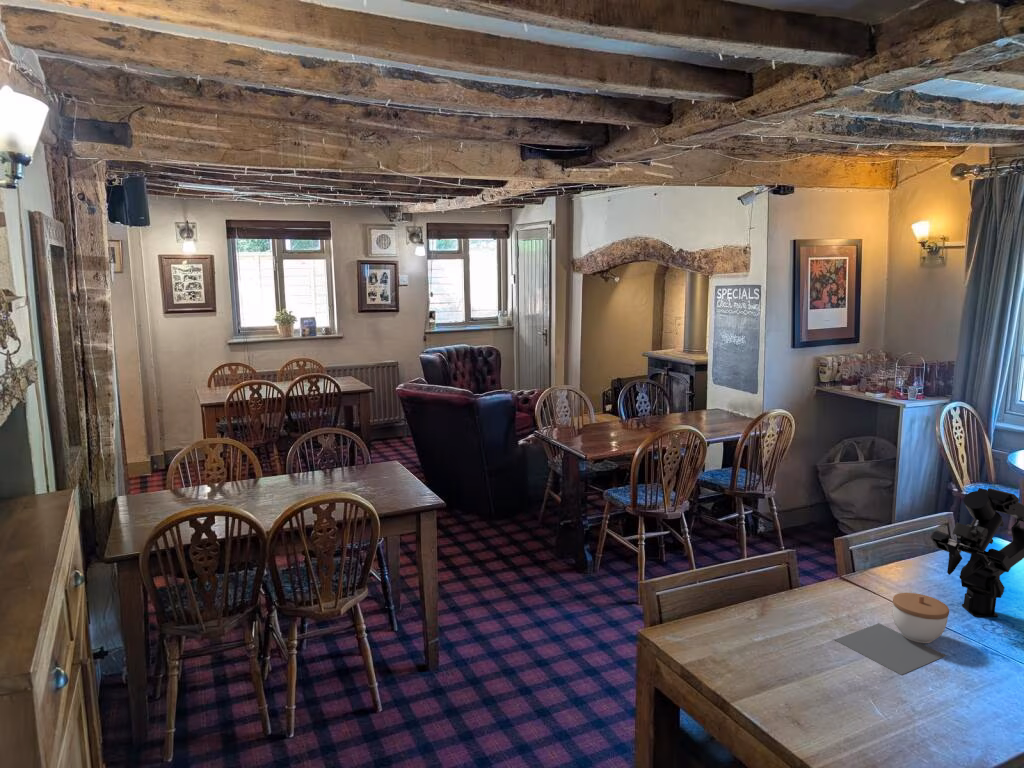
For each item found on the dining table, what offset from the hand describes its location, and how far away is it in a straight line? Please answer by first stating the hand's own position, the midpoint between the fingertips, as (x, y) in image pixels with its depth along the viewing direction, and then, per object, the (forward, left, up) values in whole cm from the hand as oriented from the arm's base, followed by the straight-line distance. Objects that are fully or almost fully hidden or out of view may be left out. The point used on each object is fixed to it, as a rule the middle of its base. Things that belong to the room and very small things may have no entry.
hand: (954, 576), depth 188 cm
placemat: (+22, +14, -14) cm, 29 cm away
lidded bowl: (+12, +7, -14) cm, 20 cm away
